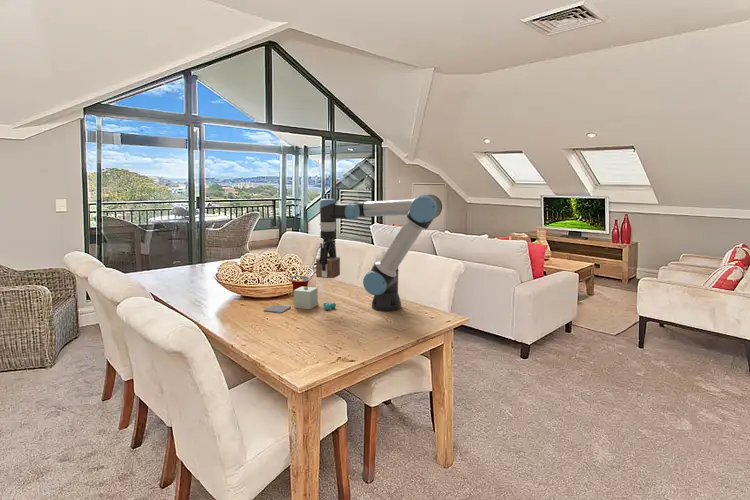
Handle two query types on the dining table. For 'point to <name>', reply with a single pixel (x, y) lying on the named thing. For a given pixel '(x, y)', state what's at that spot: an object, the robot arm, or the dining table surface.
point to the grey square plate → (277, 308)
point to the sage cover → (305, 297)
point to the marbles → (327, 306)
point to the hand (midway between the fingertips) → (328, 275)
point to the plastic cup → (299, 282)
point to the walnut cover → (329, 267)
